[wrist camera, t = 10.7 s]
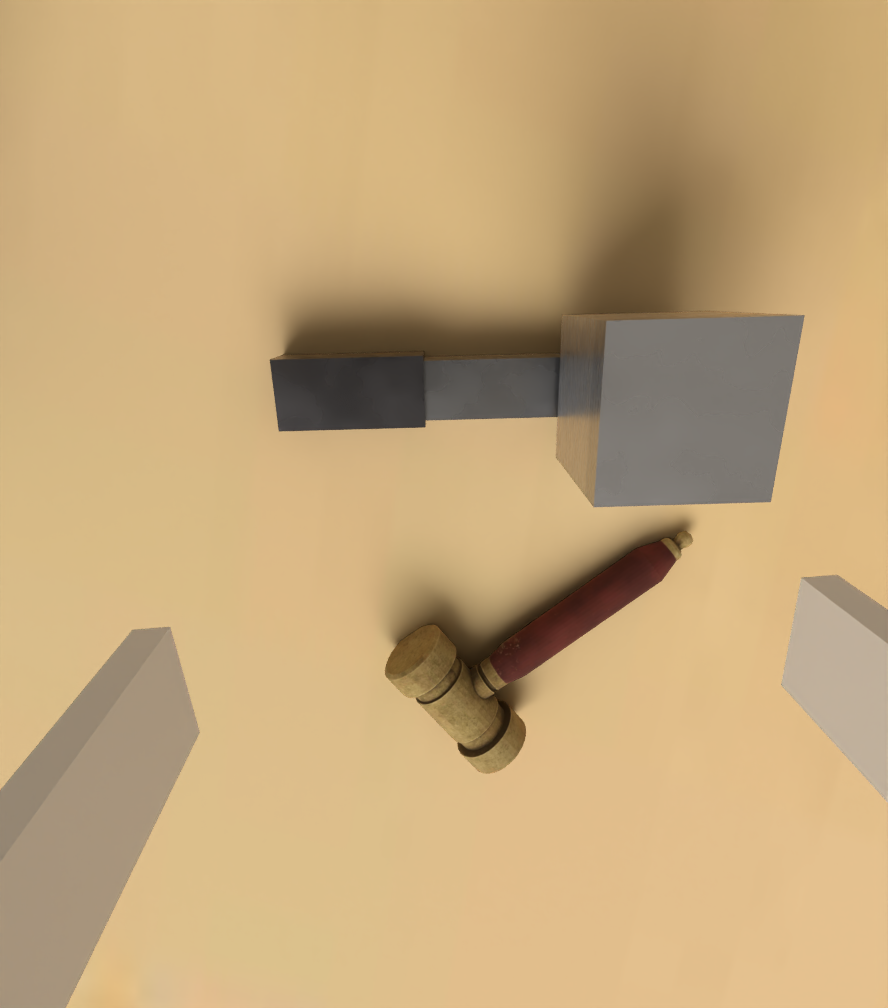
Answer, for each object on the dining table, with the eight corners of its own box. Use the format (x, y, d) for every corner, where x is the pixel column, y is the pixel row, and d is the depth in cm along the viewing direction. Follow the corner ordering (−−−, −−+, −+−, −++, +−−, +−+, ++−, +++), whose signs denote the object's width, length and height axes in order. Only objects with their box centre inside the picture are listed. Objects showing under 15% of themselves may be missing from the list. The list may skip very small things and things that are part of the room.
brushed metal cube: (555, 457, 32) (593, 507, 24) (562, 315, 29) (606, 320, 21) (690, 453, 32) (770, 501, 24) (708, 311, 29) (804, 315, 21)
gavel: (666, 485, 32) (748, 606, 35) (635, 466, 37) (710, 575, 39) (381, 690, 35) (478, 788, 38) (384, 650, 39) (470, 740, 42)
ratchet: (294, 447, 34) (254, 489, 27) (279, 325, 32) (231, 333, 24) (667, 436, 34) (732, 476, 27) (680, 314, 32) (756, 320, 24)
